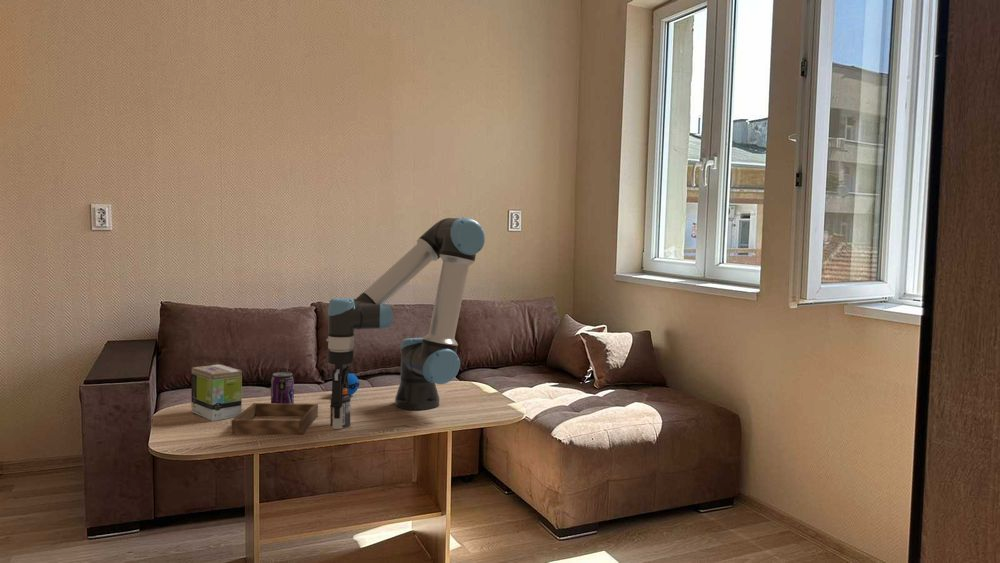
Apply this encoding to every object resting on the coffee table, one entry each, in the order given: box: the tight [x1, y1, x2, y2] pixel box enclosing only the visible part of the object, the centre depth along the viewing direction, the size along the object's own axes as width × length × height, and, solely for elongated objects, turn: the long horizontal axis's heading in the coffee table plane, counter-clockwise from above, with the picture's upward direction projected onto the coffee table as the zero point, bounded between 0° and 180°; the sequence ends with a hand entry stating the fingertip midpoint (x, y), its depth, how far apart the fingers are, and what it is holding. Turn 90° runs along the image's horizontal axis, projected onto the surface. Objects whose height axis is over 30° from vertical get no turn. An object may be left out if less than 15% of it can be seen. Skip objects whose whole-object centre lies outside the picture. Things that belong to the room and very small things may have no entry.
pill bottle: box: [329, 388, 352, 429], centre depth 210 cm, size 6×6×11 cm
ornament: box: [348, 367, 360, 397], centre depth 248 cm, size 9×9×10 cm
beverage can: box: [270, 371, 295, 404], centre depth 226 cm, size 7×7×12 cm
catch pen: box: [231, 402, 319, 436], centre depth 210 cm, size 20×20×4 cm
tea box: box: [190, 363, 243, 422], centre depth 219 cm, size 15×10×15 cm, turn 47°
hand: (339, 424), depth 210 cm, fingers open, 7 cm apart
